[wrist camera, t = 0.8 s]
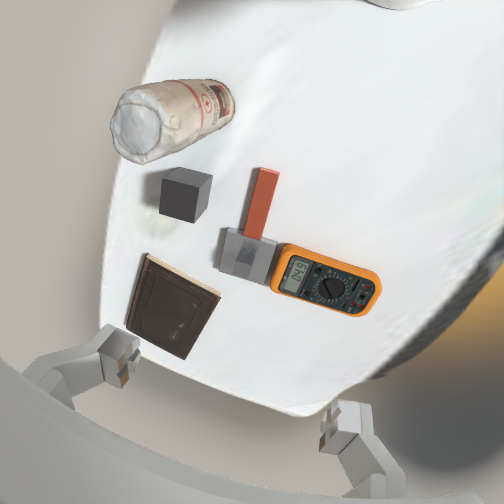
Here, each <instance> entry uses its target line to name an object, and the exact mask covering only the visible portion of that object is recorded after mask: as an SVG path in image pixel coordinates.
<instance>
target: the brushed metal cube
mask: <svg viewBox="0 0 504 504" xmlns="http://www.w3.org/2000/svg"><path fill="white" fill-rule="evenodd" d="M212 178H213V175H210V174H206V173H202V172H198V171H194V170H190V169H186V168H182V167H179V168H177V169H176V170H174V171H173V172H171V173H169V174H168V175H166V176H165V177H163V179H162V188H161V197H160V207H159V214H162V215H166V216H169V217H173V218H176V219H179V220H183V221H186V222H190V223H193V224H194V223H195V222H196V220H197V219H198V218H199V217H200V216H201V214H202V213H203V212H204V211H205V210H206V208H207V205H208V199H209V194H210V188H211V183H212Z"/></svg>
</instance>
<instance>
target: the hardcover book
mask: <svg viewBox="0 0 504 504" xmlns="http://www.w3.org/2000/svg"><path fill="white" fill-rule="evenodd" d="M219 296H220V292H218V291H216V290H214V289H213V288H211V287H209V286H207V285H205V284H203V283H201V282H199V281H197V280H195V279H194V278H192V277H190V276H188V275H186V274H184V273H182V272H180V271H179V270H177V269H175V268H173V267H171V266H169V265H168V264H166V263H164V262H162V261H160V260H158V259H157V258H155V257H153V256H151V255H149V253H148V254H146V256H145V259H144V262H143V265H142V269H141V272H140V276H139V279H138V283H137V286H136V290H135V294H134V297H133V301H132V305H131V309H130V313H129V317H128V321H127V325H126V328H127V330H129V331H131V332H133V333H134V334H136V335H138V336H140V337H141V338H143V339H145V340H147V341H149V342H150V343H152V344H154V345H156V346H158V347H160V348H162V349H163V350H165V351H167V352H169V353H171V354H173V355H175V356H177V357H179V358H181V359H183V360H185V359H186V357H187V355H188V354H189V352H190V350H191V349H192V347H193V345H194V343H195V342H196V340H197V338H198V337H199V335H200V333H201V331H202V330H203V328H204V326H205V325H206V323H207V321H208V319H209V318H210V316H211V314H212V313H213V311H214V309H215V307H216V306H217V304H218V302H219V301H220V299H221V297H219Z"/></svg>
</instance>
